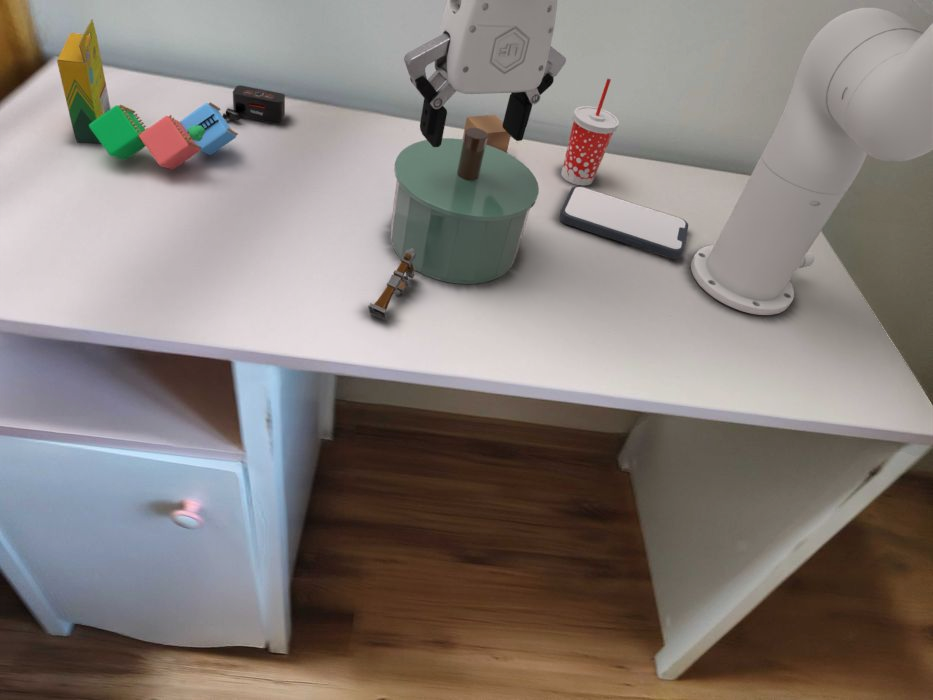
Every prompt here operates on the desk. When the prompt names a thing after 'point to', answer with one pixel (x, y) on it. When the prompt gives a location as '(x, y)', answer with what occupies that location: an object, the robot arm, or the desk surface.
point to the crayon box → (83, 82)
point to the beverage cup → (588, 142)
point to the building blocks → (163, 134)
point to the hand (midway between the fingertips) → (472, 137)
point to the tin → (454, 242)
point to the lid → (467, 178)
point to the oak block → (490, 130)
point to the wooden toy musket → (394, 285)
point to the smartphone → (625, 222)
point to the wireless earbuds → (256, 105)
